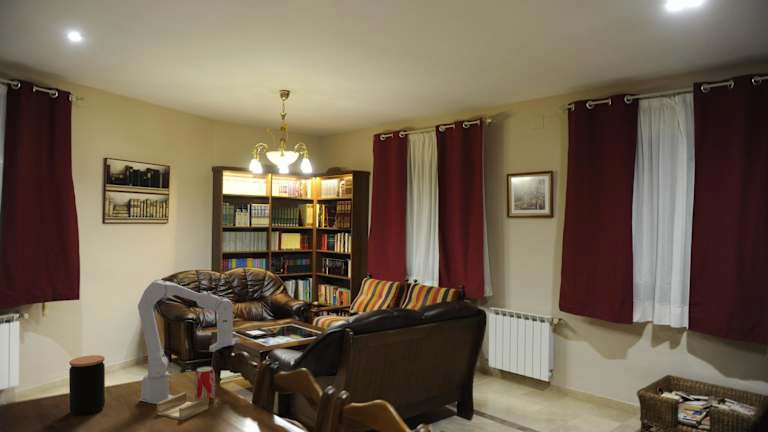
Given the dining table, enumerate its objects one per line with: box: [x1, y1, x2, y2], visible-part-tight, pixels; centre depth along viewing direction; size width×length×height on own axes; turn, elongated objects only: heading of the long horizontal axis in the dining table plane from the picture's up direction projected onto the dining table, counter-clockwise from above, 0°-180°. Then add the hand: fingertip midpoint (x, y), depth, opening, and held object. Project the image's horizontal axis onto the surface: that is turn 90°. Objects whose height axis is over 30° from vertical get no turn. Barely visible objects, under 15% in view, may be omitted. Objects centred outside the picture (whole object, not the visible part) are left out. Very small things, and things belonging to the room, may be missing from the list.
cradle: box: [156, 392, 209, 421], centre depth 177 cm, size 12×12×4 cm
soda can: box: [194, 366, 216, 404], centre depth 186 cm, size 7×7×12 cm
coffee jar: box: [68, 354, 106, 417], centre depth 178 cm, size 11×11×18 cm
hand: (225, 365), depth 196 cm, fingers closed
